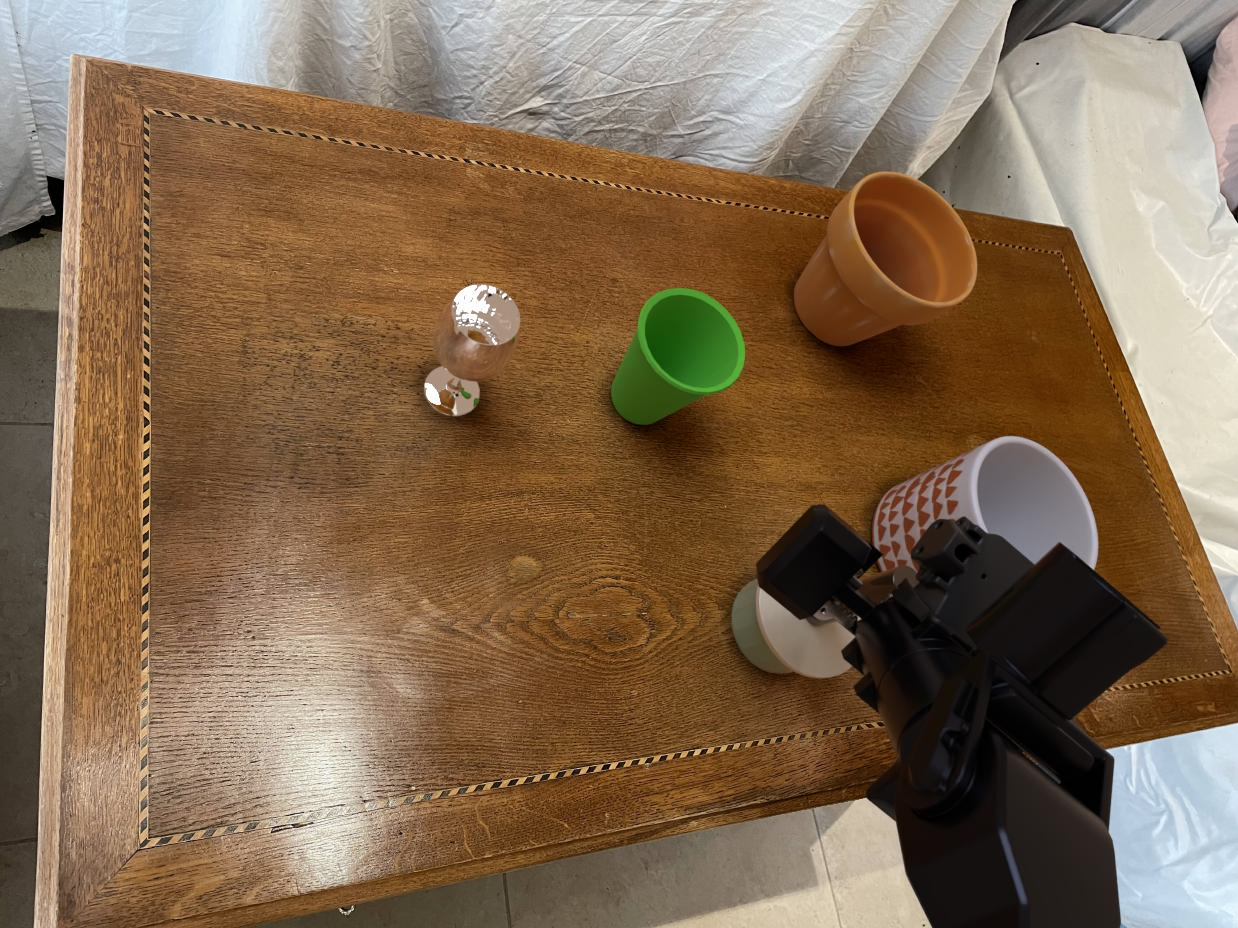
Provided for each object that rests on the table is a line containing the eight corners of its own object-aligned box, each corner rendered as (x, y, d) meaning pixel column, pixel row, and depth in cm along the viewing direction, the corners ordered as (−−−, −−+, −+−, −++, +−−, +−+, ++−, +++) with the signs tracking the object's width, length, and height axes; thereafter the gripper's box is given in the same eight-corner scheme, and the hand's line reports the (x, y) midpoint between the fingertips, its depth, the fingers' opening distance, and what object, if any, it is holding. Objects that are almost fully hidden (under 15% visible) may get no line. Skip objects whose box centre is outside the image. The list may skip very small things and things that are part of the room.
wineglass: (477, 354, 64) (515, 274, 54) (496, 418, 63) (538, 348, 53) (407, 362, 62) (433, 279, 52) (424, 429, 60) (454, 357, 50)
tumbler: (817, 675, 66) (859, 667, 61) (734, 672, 63) (771, 663, 58) (808, 581, 69) (847, 566, 64) (728, 574, 66) (762, 558, 61)
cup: (595, 340, 69) (646, 271, 60) (687, 370, 72) (749, 309, 62) (581, 430, 66) (632, 372, 56) (678, 459, 68) (743, 408, 59)
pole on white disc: (789, 699, 58) (888, 683, 49) (735, 572, 60) (820, 534, 51) (883, 650, 63) (991, 628, 53) (830, 534, 65) (924, 493, 55)
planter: (979, 643, 74) (1101, 620, 63) (859, 590, 71) (966, 556, 60) (987, 515, 80) (1100, 473, 69) (877, 461, 77) (977, 409, 66)
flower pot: (905, 358, 83) (1002, 294, 72) (806, 383, 77) (896, 316, 66) (849, 245, 86) (934, 165, 75) (748, 259, 80) (825, 175, 69)
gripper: (1182, 704, 40) (1051, 583, 55) (912, 474, 39) (853, 414, 54) (1016, 838, 43) (935, 688, 58) (759, 628, 41) (743, 530, 57)
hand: (870, 581), depth 57 cm, fingers open, 6 cm apart
